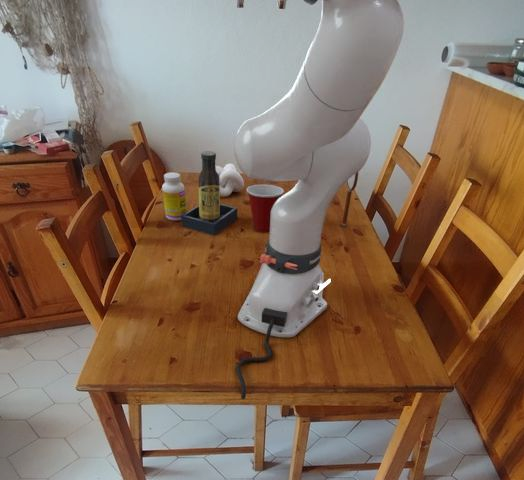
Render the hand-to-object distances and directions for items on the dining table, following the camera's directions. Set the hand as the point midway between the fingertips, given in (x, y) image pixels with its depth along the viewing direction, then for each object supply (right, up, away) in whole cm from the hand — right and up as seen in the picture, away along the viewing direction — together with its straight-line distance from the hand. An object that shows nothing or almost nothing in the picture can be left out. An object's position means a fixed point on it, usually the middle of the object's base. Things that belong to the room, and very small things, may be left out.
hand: (260, 7), depth 91 cm
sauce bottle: (-16, -36, +37) cm, 54 cm away
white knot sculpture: (-13, -21, +54) cm, 59 cm away
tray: (-16, -36, +37) cm, 54 cm away
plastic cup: (+1, -39, +35) cm, 52 cm away
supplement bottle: (-27, -34, +39) cm, 58 cm away
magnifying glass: (+26, -37, +38) cm, 59 cm away
